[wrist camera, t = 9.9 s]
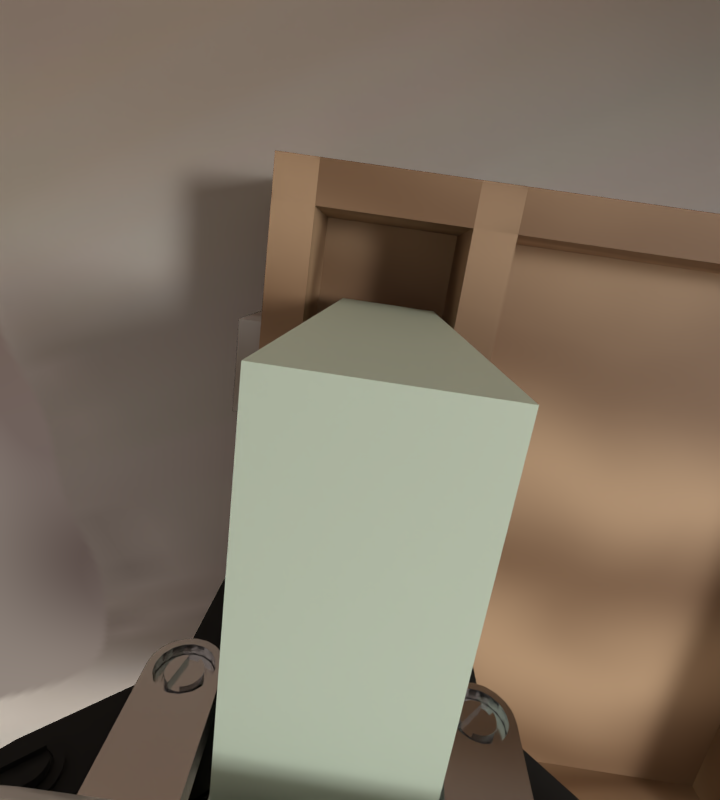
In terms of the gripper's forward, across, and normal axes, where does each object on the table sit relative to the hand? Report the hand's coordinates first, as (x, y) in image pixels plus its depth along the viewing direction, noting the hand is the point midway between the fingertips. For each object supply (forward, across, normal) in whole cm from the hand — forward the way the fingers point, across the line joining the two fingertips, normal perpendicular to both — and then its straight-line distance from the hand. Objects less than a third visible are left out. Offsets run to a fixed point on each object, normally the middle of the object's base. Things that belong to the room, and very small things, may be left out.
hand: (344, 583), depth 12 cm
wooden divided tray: (+5, -6, 0) cm, 8 cm away
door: (+2, 0, 0) cm, 2 cm away
